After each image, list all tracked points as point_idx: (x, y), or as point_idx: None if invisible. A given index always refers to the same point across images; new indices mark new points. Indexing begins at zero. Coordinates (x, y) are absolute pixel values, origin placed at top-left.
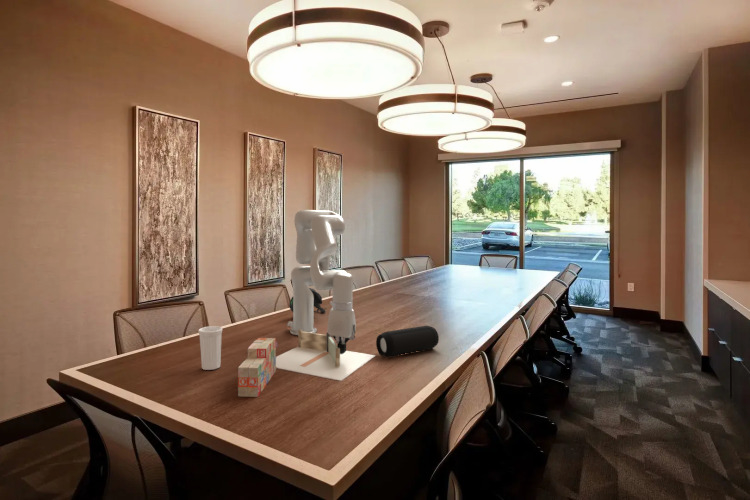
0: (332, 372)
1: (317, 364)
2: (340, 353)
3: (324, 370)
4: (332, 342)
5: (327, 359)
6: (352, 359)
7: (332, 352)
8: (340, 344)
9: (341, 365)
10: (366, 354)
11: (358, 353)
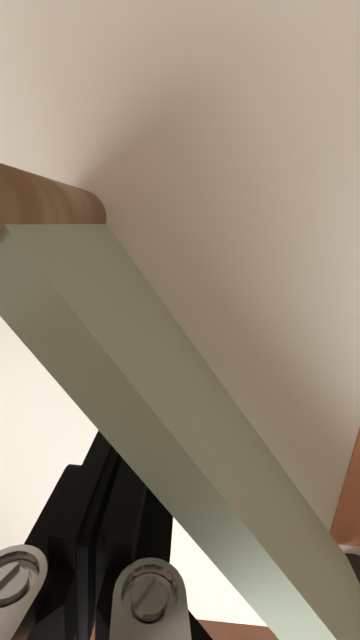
0: (57, 19)
1: (335, 213)
2: None
3: (178, 48)
4: (287, 594)
5: (283, 387)
6: (56, 460)
7: (238, 435)
8: (85, 538)
9: None
10: None
11: None
